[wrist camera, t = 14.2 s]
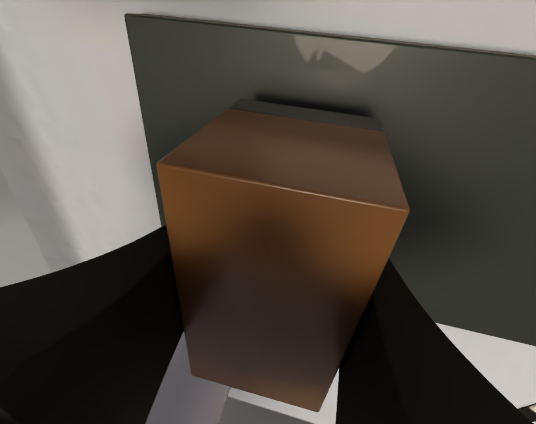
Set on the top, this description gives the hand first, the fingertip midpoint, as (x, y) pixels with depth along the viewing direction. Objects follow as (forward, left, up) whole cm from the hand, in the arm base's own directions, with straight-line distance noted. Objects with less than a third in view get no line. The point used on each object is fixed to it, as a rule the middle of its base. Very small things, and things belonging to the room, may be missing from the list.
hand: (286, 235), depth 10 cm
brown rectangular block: (0, 0, -1) cm, 1 cm away
